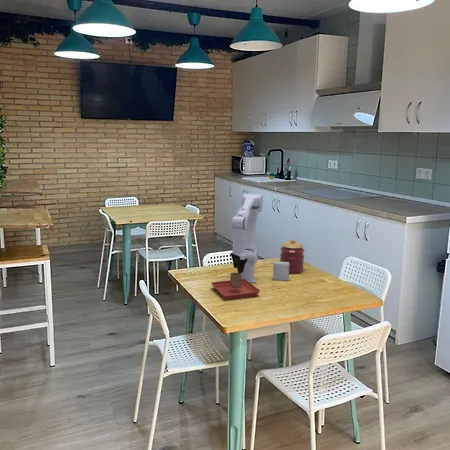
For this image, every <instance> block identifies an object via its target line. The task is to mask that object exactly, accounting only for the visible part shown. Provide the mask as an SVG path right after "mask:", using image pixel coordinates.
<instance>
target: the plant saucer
mask: <svg viewBox="0 0 450 450" xmlns="http://www.w3.org/2000/svg"><path fill="white" fill-rule="evenodd" d="M210 283H211V286H213V288H214V289H215V290H216V291H217V292H218V293H219V295H220V296H222V297H223V298H224V299H225V300H234V299H240V298H249V297H256V296H257V295H258V294H259V293H260V292H261V290H260V289H259V288H257V287H256V286H255V285H254V284H252V283H250V282H248V281H247V280H246V279H242V288H232V287H231V285H230V280H220V281H212V282H210Z"/></svg>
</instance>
